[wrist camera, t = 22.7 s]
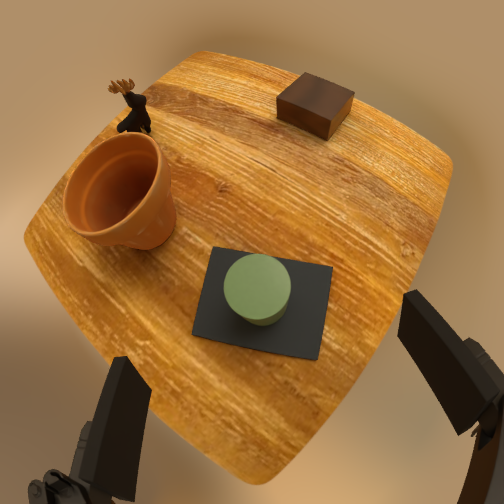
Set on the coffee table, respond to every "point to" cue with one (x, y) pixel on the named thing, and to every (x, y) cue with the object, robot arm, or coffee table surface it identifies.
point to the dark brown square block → (314, 105)
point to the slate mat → (279, 333)
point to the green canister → (258, 289)
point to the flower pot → (121, 194)
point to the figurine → (137, 103)
